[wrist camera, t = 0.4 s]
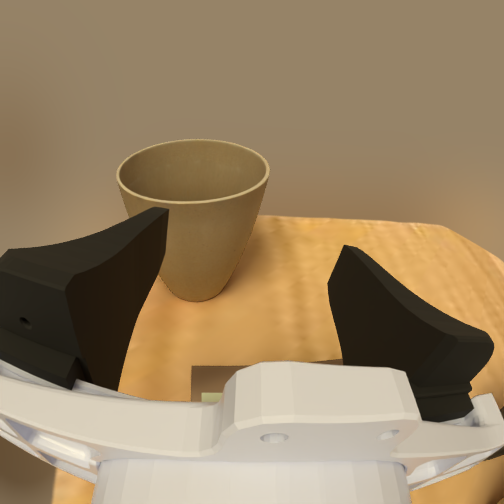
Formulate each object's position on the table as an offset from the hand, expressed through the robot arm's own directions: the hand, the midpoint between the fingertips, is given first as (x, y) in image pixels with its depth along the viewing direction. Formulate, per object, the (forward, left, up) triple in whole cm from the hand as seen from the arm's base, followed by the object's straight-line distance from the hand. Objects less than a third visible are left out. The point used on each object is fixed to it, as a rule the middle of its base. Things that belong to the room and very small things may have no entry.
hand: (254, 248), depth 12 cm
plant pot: (+18, +4, -21) cm, 27 cm away
